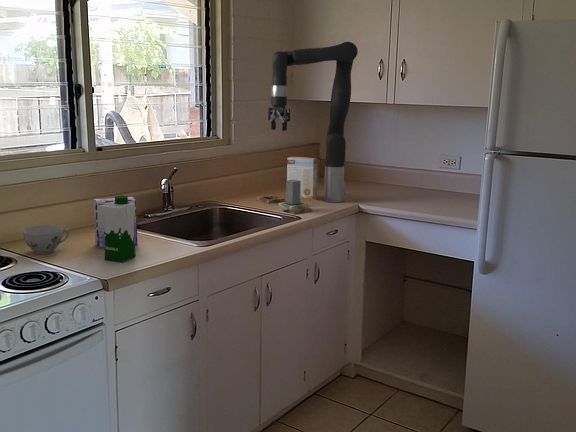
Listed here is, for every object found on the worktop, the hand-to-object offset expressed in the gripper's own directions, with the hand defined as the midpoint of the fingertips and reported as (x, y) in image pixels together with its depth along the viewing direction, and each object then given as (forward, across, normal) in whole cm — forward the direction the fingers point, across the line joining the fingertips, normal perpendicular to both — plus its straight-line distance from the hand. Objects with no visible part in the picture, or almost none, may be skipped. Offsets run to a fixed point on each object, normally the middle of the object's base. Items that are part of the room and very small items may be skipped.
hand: (278, 130), depth 291 cm
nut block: (+33, -22, +8) cm, 40 cm away
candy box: (+34, -33, +96) cm, 107 cm away
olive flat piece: (+34, -14, +8) cm, 38 cm away
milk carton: (+34, -50, +102) cm, 119 cm away
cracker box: (+34, -5, -11) cm, 36 cm away
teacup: (+34, -28, +118) cm, 126 cm away
